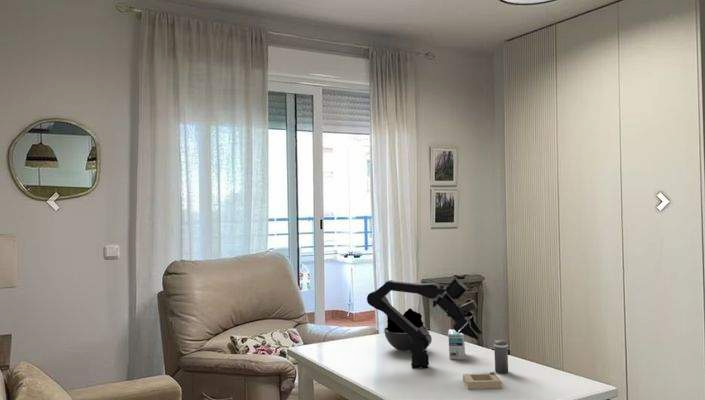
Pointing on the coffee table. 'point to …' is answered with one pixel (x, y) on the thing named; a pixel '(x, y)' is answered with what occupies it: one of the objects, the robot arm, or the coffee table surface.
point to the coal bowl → (402, 331)
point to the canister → (501, 356)
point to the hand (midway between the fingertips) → (479, 335)
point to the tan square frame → (482, 381)
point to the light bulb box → (456, 345)
